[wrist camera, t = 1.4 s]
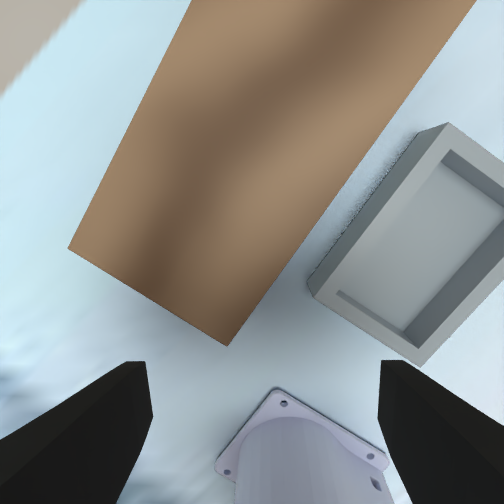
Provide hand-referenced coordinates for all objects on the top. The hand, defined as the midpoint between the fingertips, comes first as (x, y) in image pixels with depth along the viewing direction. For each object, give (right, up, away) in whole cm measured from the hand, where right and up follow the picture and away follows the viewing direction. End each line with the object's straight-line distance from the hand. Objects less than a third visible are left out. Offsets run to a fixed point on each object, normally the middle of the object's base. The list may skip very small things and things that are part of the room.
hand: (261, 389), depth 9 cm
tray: (+9, +5, +8) cm, 13 cm away
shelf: (0, +10, +7) cm, 12 cm away
